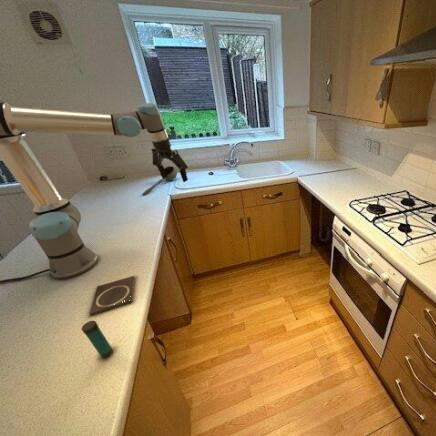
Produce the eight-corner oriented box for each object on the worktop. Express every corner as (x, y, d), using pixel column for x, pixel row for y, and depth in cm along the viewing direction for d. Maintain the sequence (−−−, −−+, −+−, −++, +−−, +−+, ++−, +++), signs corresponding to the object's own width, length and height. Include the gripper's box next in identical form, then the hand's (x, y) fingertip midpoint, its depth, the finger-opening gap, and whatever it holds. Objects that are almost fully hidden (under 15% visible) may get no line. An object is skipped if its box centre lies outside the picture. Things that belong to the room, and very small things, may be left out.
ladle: (181, 174, 200) (175, 164, 193) (158, 204, 173) (150, 193, 166) (169, 175, 202) (162, 165, 196) (144, 205, 175) (136, 194, 168)
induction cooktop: (90, 315, 79) (89, 313, 78) (98, 288, 90) (97, 286, 89) (132, 302, 83) (131, 300, 83) (135, 277, 94) (134, 275, 94)
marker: (99, 360, 65) (80, 332, 60) (101, 351, 68) (82, 323, 62) (112, 355, 67) (94, 327, 61) (114, 346, 69) (96, 318, 63)
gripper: (186, 139, 112) (199, 178, 125) (145, 134, 119) (161, 172, 132) (175, 145, 107) (189, 186, 120) (133, 139, 114) (151, 179, 127)
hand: (175, 179), depth 126 cm, fingers open, 13 cm apart
